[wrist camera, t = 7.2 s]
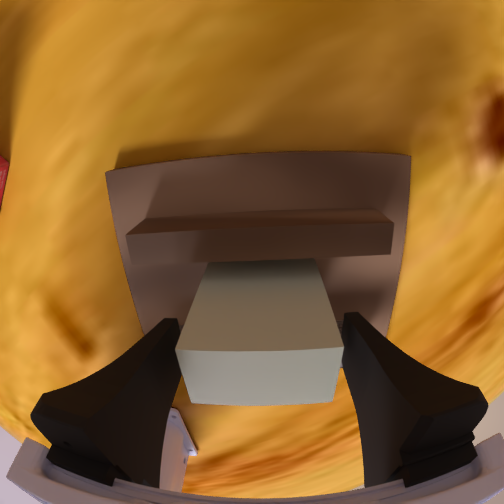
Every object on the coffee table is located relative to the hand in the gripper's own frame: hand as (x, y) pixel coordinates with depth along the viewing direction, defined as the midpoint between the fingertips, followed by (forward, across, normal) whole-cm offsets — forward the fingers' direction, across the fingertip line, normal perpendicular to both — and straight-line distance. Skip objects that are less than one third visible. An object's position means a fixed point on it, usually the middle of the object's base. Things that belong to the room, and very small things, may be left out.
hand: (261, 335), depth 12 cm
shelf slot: (+5, 0, 0) cm, 5 cm away
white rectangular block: (+4, 0, 0) cm, 4 cm away
